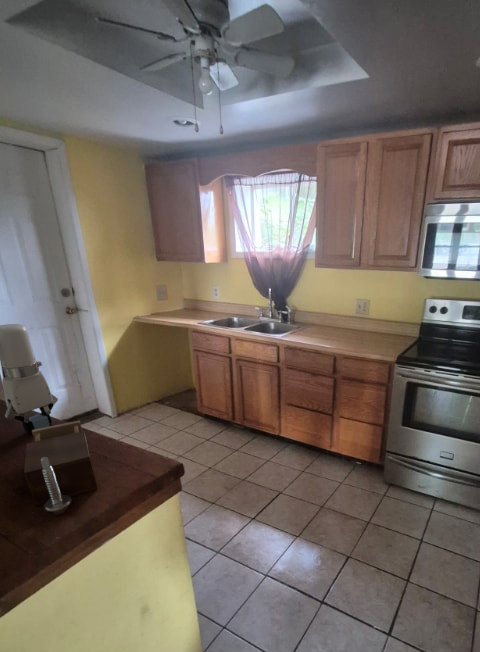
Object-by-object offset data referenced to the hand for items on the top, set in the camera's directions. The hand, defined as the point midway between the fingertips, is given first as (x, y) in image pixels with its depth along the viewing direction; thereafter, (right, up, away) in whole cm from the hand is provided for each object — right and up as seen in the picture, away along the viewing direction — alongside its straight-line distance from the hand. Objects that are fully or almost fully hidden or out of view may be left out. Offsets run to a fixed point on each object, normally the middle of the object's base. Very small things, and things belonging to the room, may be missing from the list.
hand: (39, 429), depth 108 cm
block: (0, 0, 0) cm, 0 cm away
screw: (+27, -15, -32) cm, 44 cm away
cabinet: (+22, -10, -23) cm, 33 cm away
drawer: (+16, -5, -14) cm, 21 cm away
